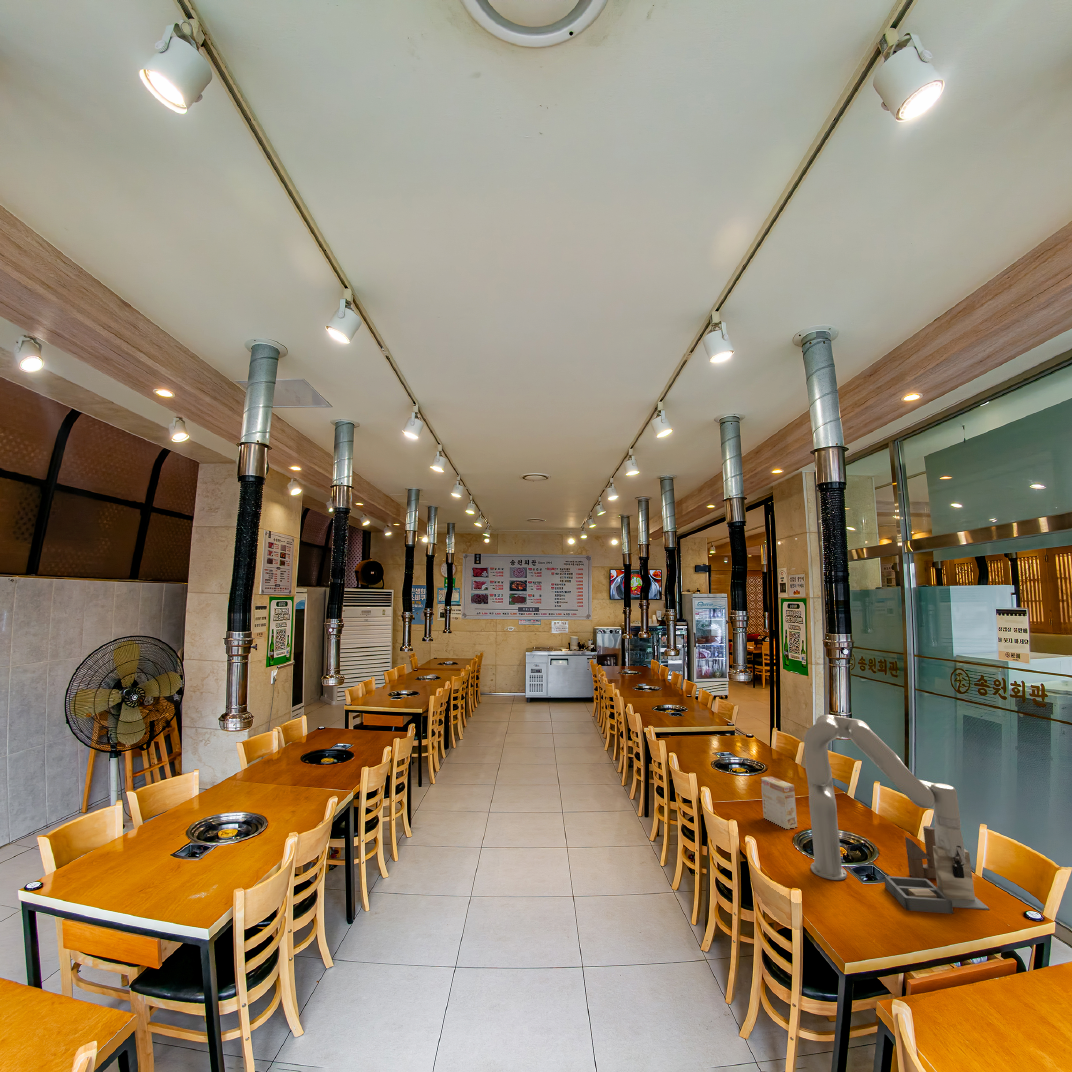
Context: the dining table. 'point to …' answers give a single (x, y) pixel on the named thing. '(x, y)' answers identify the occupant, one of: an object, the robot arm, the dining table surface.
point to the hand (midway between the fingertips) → (953, 872)
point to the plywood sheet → (947, 881)
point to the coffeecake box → (779, 802)
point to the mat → (968, 904)
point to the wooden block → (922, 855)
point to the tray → (901, 893)
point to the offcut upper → (921, 893)
